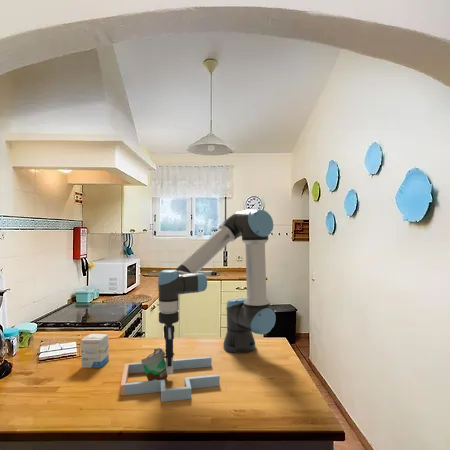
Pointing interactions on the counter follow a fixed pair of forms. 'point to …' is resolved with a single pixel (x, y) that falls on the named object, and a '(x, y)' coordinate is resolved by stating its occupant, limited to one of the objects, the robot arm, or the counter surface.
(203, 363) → the channel
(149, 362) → the food container
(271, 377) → the counter surface
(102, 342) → the ink box
